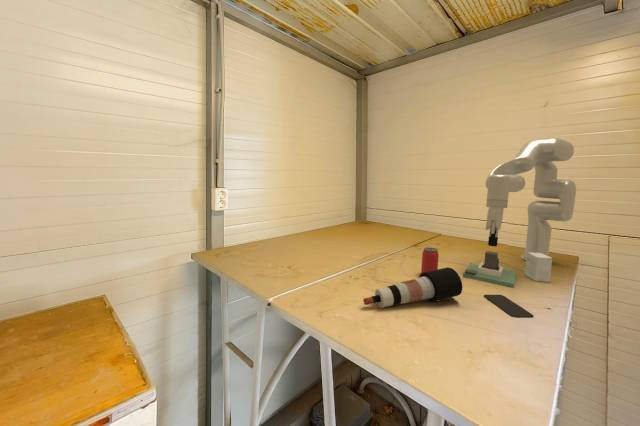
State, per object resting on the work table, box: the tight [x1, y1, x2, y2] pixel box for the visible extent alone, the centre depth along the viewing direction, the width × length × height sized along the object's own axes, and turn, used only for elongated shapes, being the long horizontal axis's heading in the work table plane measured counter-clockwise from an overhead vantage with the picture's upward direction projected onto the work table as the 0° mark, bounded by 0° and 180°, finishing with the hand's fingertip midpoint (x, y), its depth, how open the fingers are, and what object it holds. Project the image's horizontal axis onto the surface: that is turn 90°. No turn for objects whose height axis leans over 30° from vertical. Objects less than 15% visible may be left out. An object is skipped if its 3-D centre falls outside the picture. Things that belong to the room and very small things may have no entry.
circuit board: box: [462, 263, 517, 288], centre depth 116 cm, size 18×18×2 cm
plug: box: [483, 250, 500, 270], centre depth 115 cm, size 4×5×9 cm
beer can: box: [420, 247, 440, 274], centre depth 116 cm, size 7×7×12 cm
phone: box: [483, 294, 535, 319], centre depth 89 cm, size 7×1×15 cm
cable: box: [363, 266, 463, 308], centre depth 90 cm, size 10×34×10 cm, turn 105°
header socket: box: [478, 262, 504, 278], centre depth 116 cm, size 8×8×2 cm
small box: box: [524, 252, 553, 283], centre depth 113 cm, size 8×6×10 cm
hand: (492, 245), depth 114 cm, fingers closed
